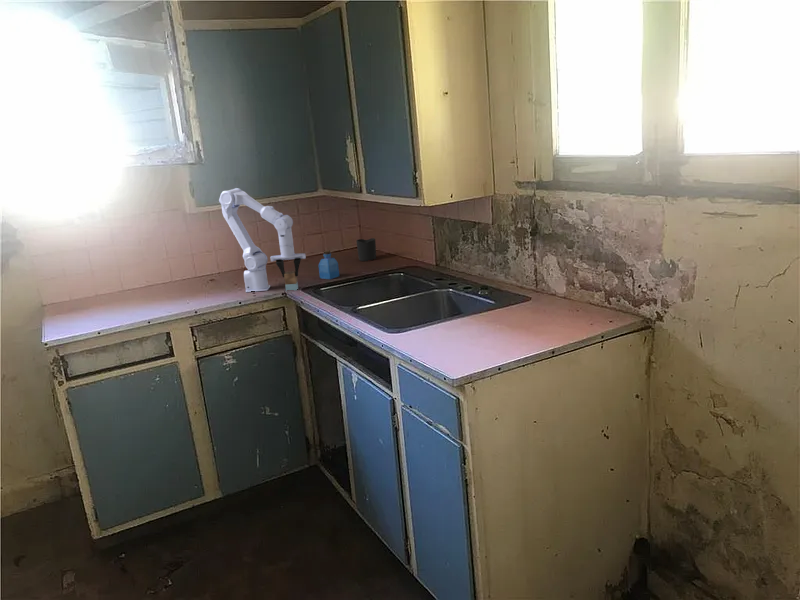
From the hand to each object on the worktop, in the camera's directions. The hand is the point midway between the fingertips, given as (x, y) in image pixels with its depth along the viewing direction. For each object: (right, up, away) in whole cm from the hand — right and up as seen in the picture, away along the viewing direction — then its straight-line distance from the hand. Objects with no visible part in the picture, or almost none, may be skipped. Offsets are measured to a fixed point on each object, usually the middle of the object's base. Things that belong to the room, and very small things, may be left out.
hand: (290, 276), depth 277 cm
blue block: (0, -6, +2) cm, 6 cm away
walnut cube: (0, -3, +1) cm, 3 cm away
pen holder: (+30, +10, +50) cm, 59 cm away
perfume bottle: (+15, 0, +18) cm, 23 cm away
